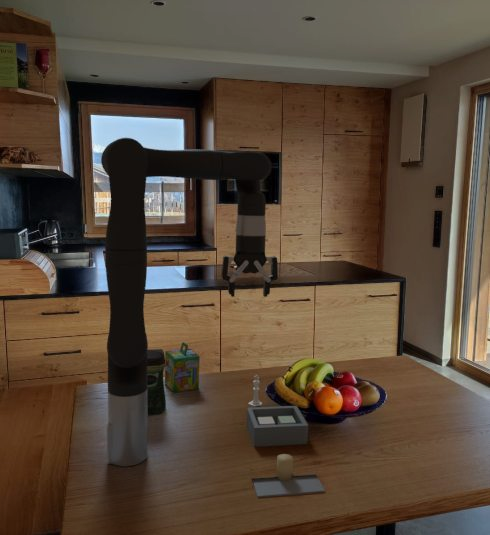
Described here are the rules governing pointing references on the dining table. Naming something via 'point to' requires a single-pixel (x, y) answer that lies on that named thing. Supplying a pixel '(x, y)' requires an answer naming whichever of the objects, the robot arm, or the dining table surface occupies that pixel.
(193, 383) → the chalk box
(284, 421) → the sage block
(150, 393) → the coffee jar
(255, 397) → the chess piece
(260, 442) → the box
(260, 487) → the lid
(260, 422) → the cream block
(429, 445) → the dining table surface
